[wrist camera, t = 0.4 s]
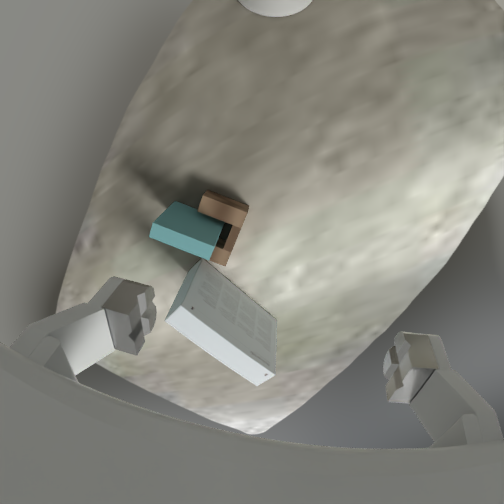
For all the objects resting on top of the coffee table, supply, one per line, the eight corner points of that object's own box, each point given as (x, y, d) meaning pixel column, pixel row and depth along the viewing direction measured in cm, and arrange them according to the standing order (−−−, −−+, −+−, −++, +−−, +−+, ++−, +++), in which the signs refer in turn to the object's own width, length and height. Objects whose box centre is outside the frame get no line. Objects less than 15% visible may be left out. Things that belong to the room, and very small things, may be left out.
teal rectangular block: (171, 212, 58) (149, 236, 47) (175, 200, 57) (152, 222, 46) (220, 232, 59) (209, 260, 48) (225, 220, 58) (214, 246, 47)
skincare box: (185, 273, 63) (162, 320, 49) (202, 256, 61) (182, 301, 47) (260, 334, 68) (256, 388, 54) (278, 320, 67) (278, 374, 52)
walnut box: (189, 241, 60) (184, 250, 56) (207, 189, 56) (202, 195, 52) (228, 256, 61) (225, 266, 57) (249, 206, 56) (247, 212, 53)
